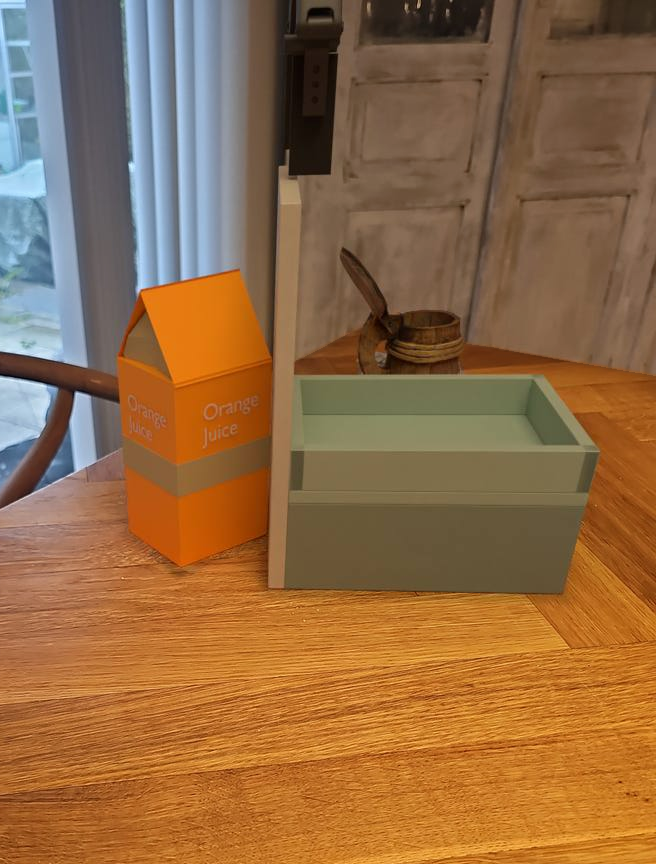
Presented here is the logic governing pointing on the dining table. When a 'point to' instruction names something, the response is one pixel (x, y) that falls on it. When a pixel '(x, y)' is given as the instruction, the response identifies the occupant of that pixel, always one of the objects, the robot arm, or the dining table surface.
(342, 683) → the dining table surface
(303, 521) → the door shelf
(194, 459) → the orange juice
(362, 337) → the wooden mug
